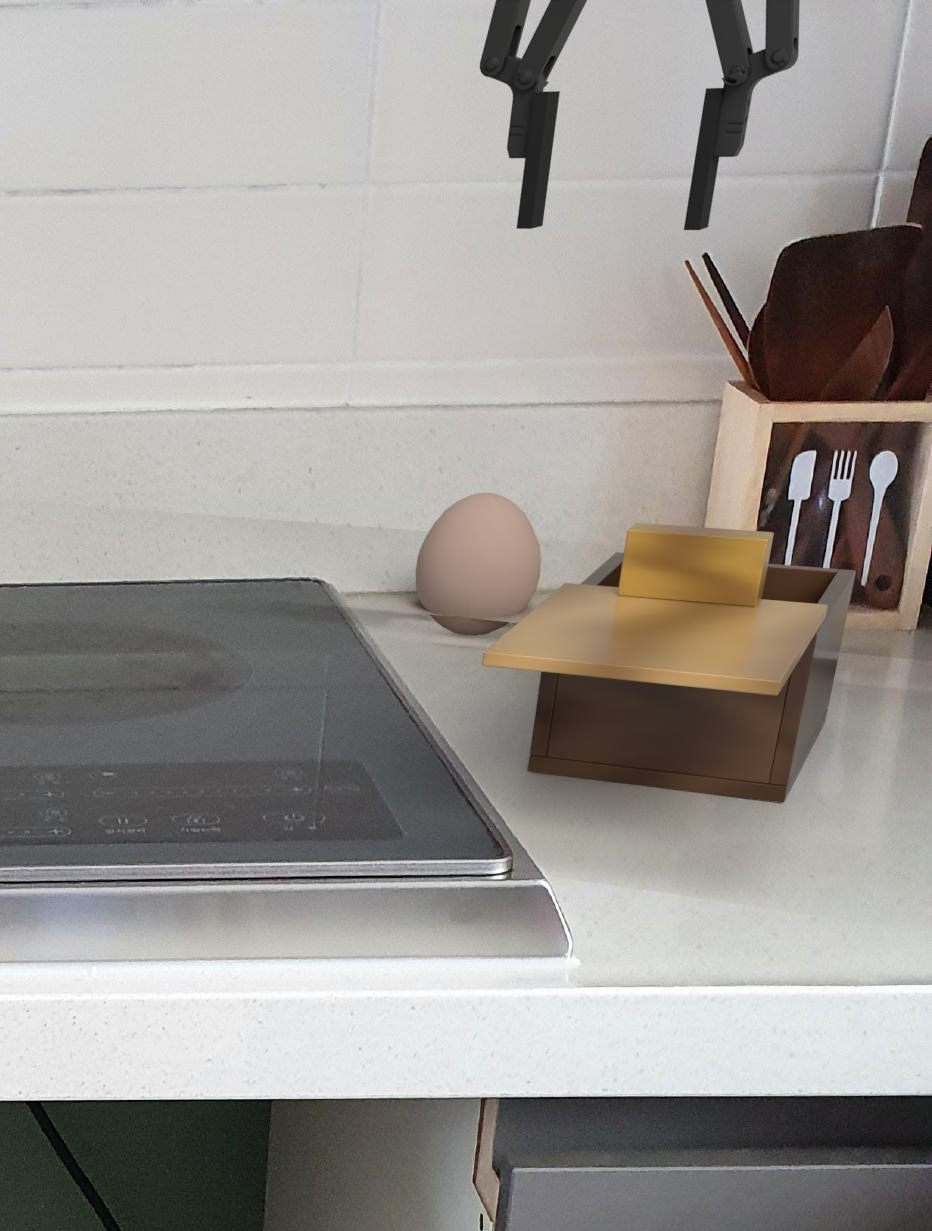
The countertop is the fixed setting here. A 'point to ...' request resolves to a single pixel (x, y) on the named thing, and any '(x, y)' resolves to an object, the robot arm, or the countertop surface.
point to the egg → (478, 564)
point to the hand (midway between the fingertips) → (611, 227)
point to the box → (697, 711)
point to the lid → (671, 617)
